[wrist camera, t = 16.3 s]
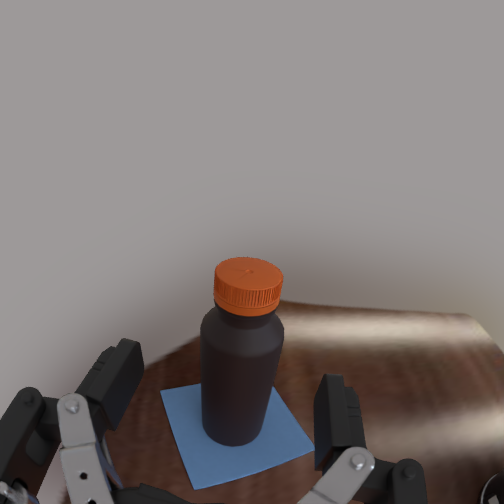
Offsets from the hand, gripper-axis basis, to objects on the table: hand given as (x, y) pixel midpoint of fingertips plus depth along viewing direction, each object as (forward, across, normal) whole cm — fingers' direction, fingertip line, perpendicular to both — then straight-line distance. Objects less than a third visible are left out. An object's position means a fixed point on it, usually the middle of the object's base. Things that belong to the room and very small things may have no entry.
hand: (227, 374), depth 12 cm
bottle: (+10, 0, +21) cm, 23 cm away
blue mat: (+10, 0, +21) cm, 23 cm away
